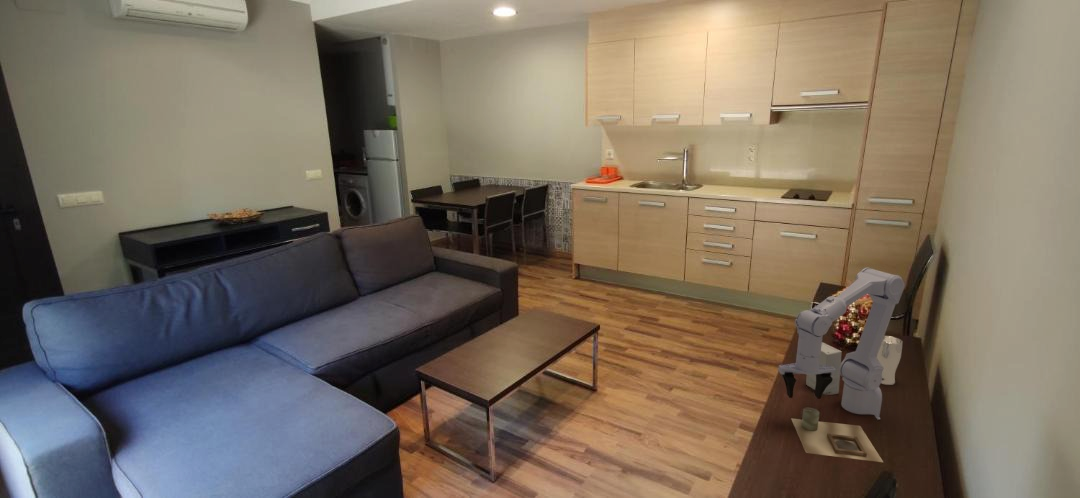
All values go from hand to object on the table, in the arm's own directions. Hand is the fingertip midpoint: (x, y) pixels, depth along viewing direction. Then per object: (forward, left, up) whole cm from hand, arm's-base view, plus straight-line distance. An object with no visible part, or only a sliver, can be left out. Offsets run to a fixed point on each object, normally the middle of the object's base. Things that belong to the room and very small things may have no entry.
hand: (803, 396), depth 140 cm
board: (-7, +7, -10) cm, 13 cm away
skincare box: (-12, -23, -10) cm, 28 cm away
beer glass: (-34, -33, -10) cm, 49 cm away
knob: (-2, +2, -8) cm, 9 cm away
